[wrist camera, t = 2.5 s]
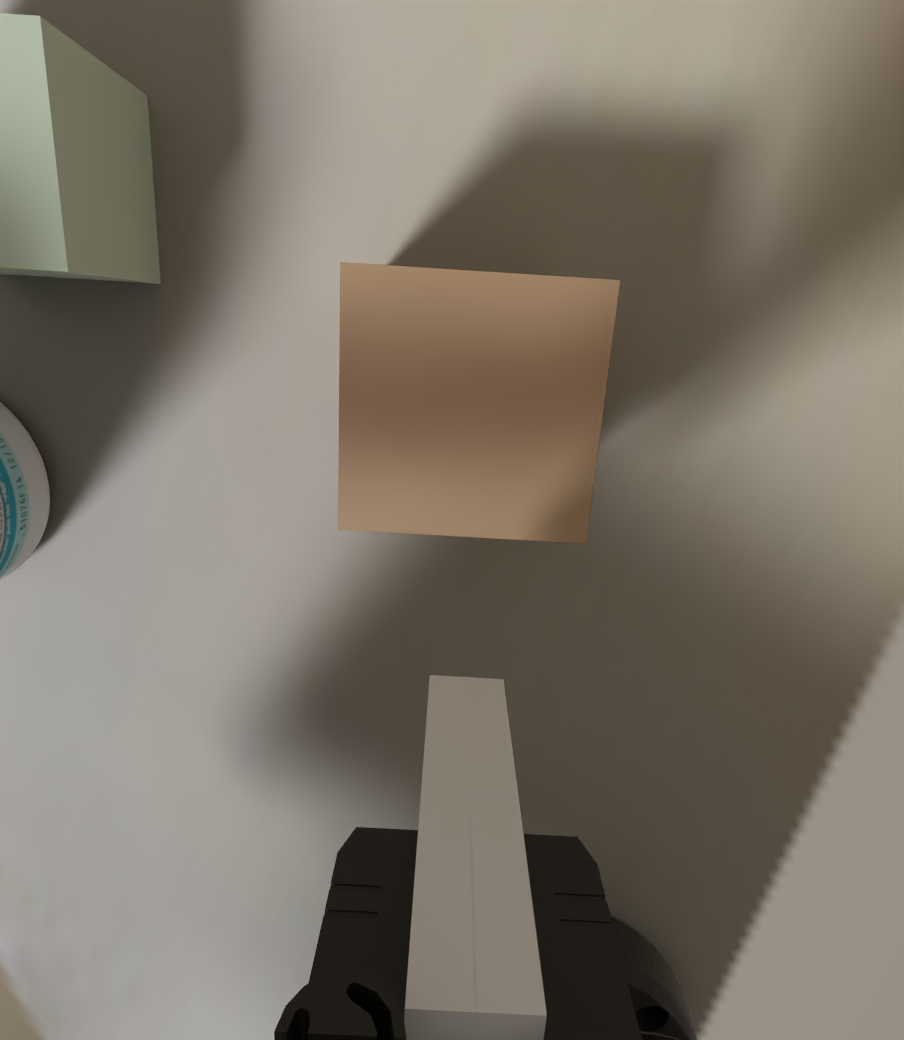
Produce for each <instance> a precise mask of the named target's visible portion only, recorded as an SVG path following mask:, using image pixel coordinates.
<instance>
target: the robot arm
mask: <svg viewBox="0 0 904 1040" xmlns="http://www.w3.org/2000/svg"><path fill="white" fill-rule="evenodd" d="M274 1035H275V1040H697V1039H696V1035H695V1032H694V1030H693V1027H692V1024H691V1021H690V1018H689V1015H688V1012H687V1009H686V1006H685V1003H684V1000H683V997H682V994H681V991H680V988H679V985H678V983H677V981H676V979H675V977H674V975H673V973H672V971H671V970H670V968H669V966H668V965H667V963H666V962H665V961H664V959H663V958H662V957H661V956H660V955H659V953H658V952H657V951H656V950H655V949H654V948H653V947H652V946H651V945H650V944H649V943H648V942H647V941H645V940H644V939H643V938H642V937H640V936H639V935H638V934H636V933H635V932H633V931H632V930H631V929H629V928H627V927H626V926H624V925H622V924H621V923H619V922H617V921H615V920H613V919H611V917H610V913H609V909H608V905H607V902H605V893H604V889H603V885H602V882H601V878H600V874H599V870H598V866H597V863H596V862H595V861H594V859H593V858H592V856H591V855H590V854H589V852H588V851H587V850H586V848H585V847H584V845H583V844H582V843H581V841H580V840H579V839H578V837H570V836H551V835H533V834H523V827H522V819H521V811H520V804H519V796H518V788H517V780H516V773H515V765H514V757H513V750H512V742H511V734H510V726H509V719H508V711H507V703H506V695H505V688H504V680H503V679H492V678H474V677H456V676H438V675H430V678H429V691H428V705H427V718H426V731H425V745H424V758H423V772H422V785H421V798H420V812H419V825H418V830H400V829H381V828H362V827H356V829H355V830H354V831H353V833H352V834H351V835H350V837H349V838H348V839H347V841H346V842H345V843H344V845H343V846H342V847H341V849H340V850H339V851H338V853H337V858H336V863H335V867H334V872H333V876H332V881H331V888H330V890H329V894H328V899H327V903H326V908H325V915H324V917H323V921H322V926H321V930H320V935H319V939H318V944H317V948H316V953H315V957H314V962H313V966H312V971H311V975H310V980H309V984H307V985H305V986H304V987H303V988H302V989H301V990H300V991H299V992H298V993H297V994H296V996H295V997H294V998H293V999H292V1000H291V1001H290V1002H289V1003H288V1004H287V1005H286V1007H285V1009H284V1011H283V1013H282V1016H281V1018H280V1020H279V1022H278V1025H277V1027H276V1029H275V1031H274Z"/></svg>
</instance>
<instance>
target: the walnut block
mask: <svg viewBox="0 0 904 1040" xmlns="http://www.w3.org/2000/svg"><path fill="white" fill-rule="evenodd" d="M619 286H620V280H610V279H595V278H579V277H563V276H548V275H532V274H517V273H501V272H485V271H470V270H454V269H439V268H423V267H407V266H392V265H376V264H361V263H345V262H340V374H339V498H338V530H356V531H373V532H391V533H408V534H426V535H443V536H460V537H478V538H495V539H513V540H530V541H548V542H565V543H582V544H586V542H587V534H588V526H589V518H590V511H591V503H592V495H593V487H594V480H595V472H596V464H597V456H598V449H599V441H600V433H601V425H602V418H603V410H604V402H605V394H606V387H607V379H608V371H609V363H610V356H611V348H612V340H613V332H614V324H615V317H616V309H617V301H618V293H619Z"/></svg>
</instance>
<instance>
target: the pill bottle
mask: <svg viewBox="0 0 904 1040" xmlns="http://www.w3.org/2000/svg"><path fill="white" fill-rule="evenodd" d="M49 510H50V490H49V483H48V478H47V473H46V469H45V466H44V463H43V460H42V457H41V455H40V453H39V451H38V449H37V447H36V445H35V443H34V441H33V440H32V438H31V437H30V435H29V433H28V432H27V431H26V429H25V428H24V427H23V425H22V424H21V423H20V421H19V420H18V419H17V418H16V417H15V416H14V415H13V414H12V412H11V411H10V410H9V409H8V408H6V407H5V406H4V405H3V404H2V403H1V402H0V580H1V579H2V578H4V577H6V576H7V575H9V574H10V573H12V572H13V571H15V570H16V569H17V568H18V567H20V566H21V565H22V564H23V563H24V562H25V561H26V560H27V559H28V558H29V557H30V555H31V554H32V553H33V551H34V550H35V548H36V547H37V545H38V544H39V542H40V540H41V538H42V536H43V533H44V531H45V528H46V525H47V521H48V516H49Z"/></svg>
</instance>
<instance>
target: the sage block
mask: <svg viewBox="0 0 904 1040" xmlns="http://www.w3.org/2000/svg"><path fill="white" fill-rule="evenodd" d="M0 274H9V275H25V276H41V277H57V278H73V279H89V280H105V281H121V282H137V283H153V284H161V280H160V266H159V252H158V238H157V223H156V209H155V195H154V181H153V167H152V152H151V138H150V124H149V110H148V96H147V95H146V94H145V93H143V92H142V91H140V90H139V89H138V88H136V87H135V86H134V85H132V84H131V83H130V82H128V81H127V80H126V79H124V78H123V77H122V76H120V75H119V74H118V73H116V72H115V71H114V70H112V69H111V68H110V67H108V66H107V65H105V64H104V63H103V62H101V61H100V60H99V59H97V58H96V57H95V56H93V55H92V54H91V53H89V52H88V51H87V50H85V49H84V48H83V47H81V46H80V45H79V44H77V43H76V42H75V41H73V40H72V39H70V38H69V37H68V36H66V35H65V34H64V33H62V32H61V31H60V30H58V29H57V28H56V27H54V26H53V25H52V24H50V23H49V22H48V21H46V20H45V19H44V18H42V17H41V16H35V15H20V14H6V13H0Z"/></svg>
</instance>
